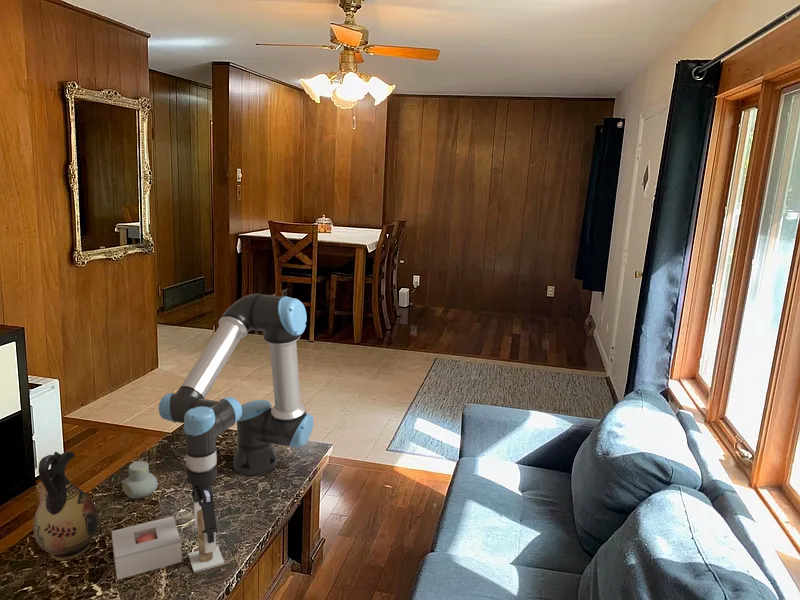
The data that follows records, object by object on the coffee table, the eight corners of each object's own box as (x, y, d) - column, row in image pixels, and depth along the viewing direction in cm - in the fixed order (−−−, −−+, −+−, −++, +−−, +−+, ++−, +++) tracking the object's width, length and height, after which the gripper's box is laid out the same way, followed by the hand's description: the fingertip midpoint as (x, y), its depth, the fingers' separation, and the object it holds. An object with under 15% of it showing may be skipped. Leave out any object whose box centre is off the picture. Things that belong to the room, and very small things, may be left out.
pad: (217, 547, 169) (217, 545, 169) (224, 564, 162) (224, 562, 162) (188, 555, 165) (188, 553, 165) (193, 573, 159) (193, 571, 158)
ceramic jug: (58, 531, 173) (47, 436, 166) (110, 533, 173) (102, 439, 166) (19, 570, 157) (5, 467, 150) (78, 574, 157) (66, 471, 149)
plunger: (154, 547, 167) (153, 531, 165) (156, 556, 163) (155, 540, 162) (137, 552, 164) (136, 536, 163) (139, 561, 161) (138, 545, 160)
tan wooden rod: (211, 551, 166) (209, 507, 163) (214, 559, 163) (212, 514, 160) (197, 555, 164) (195, 510, 161) (200, 563, 161) (198, 517, 158)
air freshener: (120, 491, 194) (117, 463, 192) (144, 482, 200) (142, 454, 198) (136, 505, 187) (133, 476, 185) (161, 494, 193) (159, 466, 191)
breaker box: (174, 536, 173) (173, 516, 171) (181, 561, 163) (180, 539, 161) (113, 552, 165) (111, 531, 163) (117, 579, 155) (115, 557, 153)
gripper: (178, 447, 166) (182, 515, 171) (196, 493, 145) (200, 568, 150) (206, 442, 169) (209, 508, 174) (227, 485, 148) (230, 559, 153)
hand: (205, 536), depth 162 cm, fingers open, 13 cm apart
